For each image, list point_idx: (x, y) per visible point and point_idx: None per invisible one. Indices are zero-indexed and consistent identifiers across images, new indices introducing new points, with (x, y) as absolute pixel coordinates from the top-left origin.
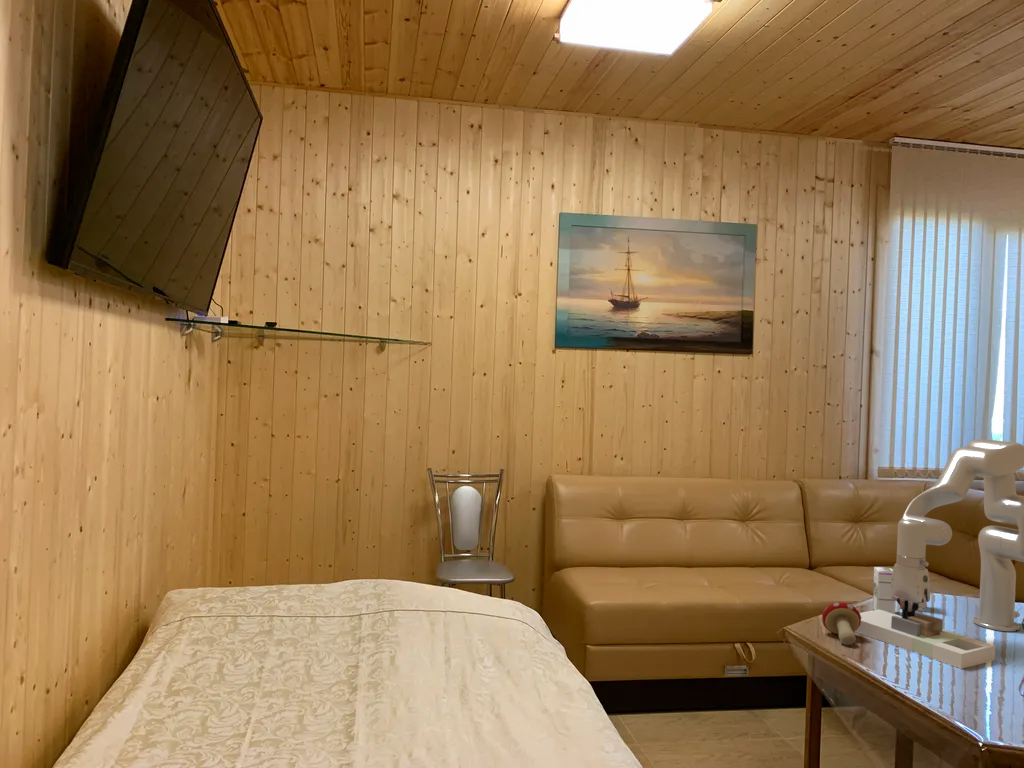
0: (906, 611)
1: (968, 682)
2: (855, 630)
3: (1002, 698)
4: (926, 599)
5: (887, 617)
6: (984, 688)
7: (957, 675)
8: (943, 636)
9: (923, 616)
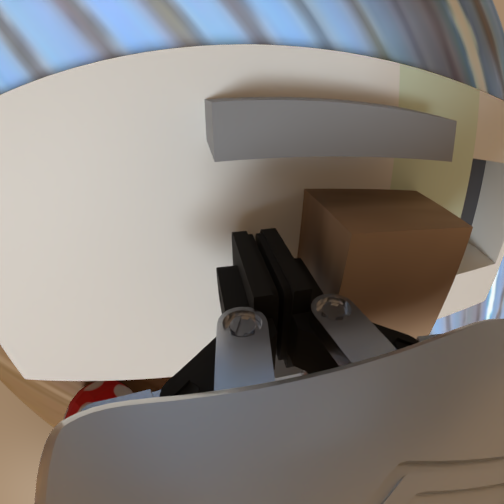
0: (288, 364)
1: (469, 318)
2: (130, 390)
3: (500, 313)
4: (500, 328)
5: (37, 214)
6: (486, 311)
7: (454, 313)
8: (432, 196)
9: (380, 252)
